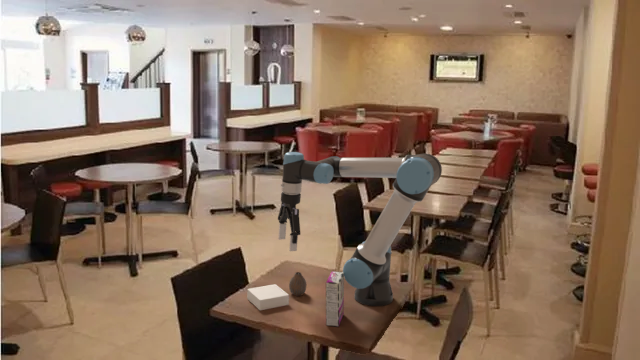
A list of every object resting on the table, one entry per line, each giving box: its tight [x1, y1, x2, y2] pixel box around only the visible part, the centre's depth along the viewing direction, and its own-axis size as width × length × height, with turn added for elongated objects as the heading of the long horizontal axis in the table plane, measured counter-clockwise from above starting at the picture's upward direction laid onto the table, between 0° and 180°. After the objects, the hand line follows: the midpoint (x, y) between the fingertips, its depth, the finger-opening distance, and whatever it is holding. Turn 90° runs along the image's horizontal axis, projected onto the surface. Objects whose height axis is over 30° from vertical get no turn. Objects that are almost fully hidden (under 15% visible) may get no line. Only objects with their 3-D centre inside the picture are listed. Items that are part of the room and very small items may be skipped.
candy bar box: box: [325, 271, 345, 327], centre depth 207 cm, size 11×5×16 cm, turn 169°
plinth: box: [246, 283, 290, 311], centre depth 222 cm, size 12×12×4 cm
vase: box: [288, 271, 307, 297], centre depth 231 cm, size 7×7×9 cm
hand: (287, 244), depth 227 cm, fingers open, 13 cm apart
